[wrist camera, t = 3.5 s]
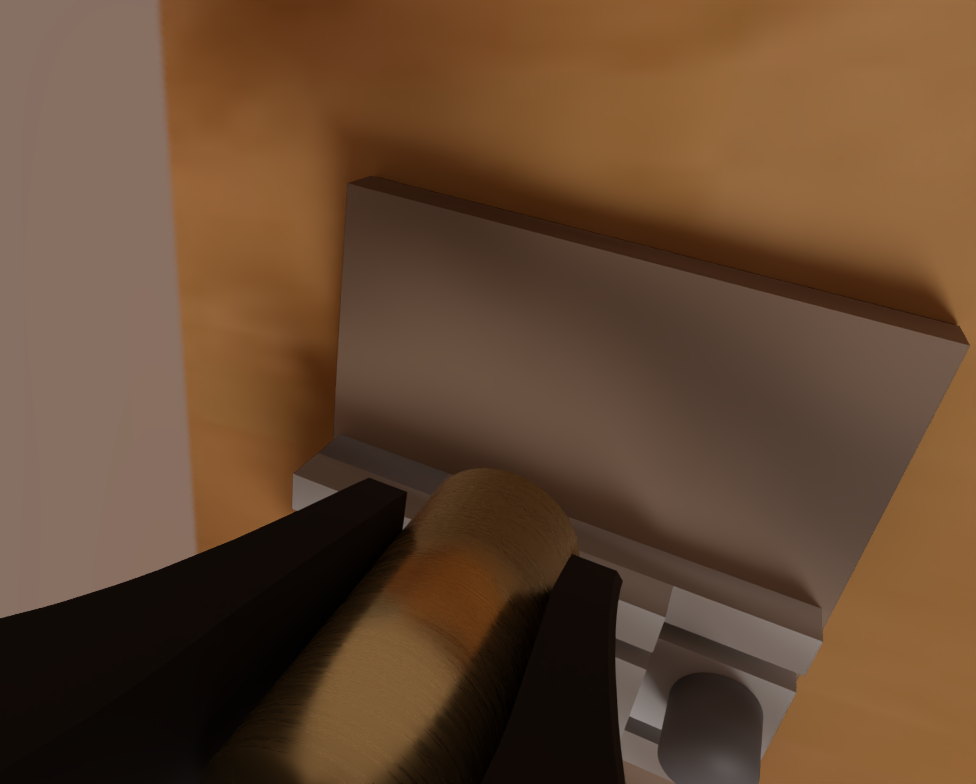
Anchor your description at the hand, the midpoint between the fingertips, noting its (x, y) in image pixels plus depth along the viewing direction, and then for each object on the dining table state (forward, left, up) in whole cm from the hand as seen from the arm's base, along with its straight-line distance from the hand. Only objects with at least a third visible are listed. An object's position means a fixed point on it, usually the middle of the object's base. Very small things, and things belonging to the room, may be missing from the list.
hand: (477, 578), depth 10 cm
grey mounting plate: (-5, +4, -7) cm, 9 cm away
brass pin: (0, 0, -1) cm, 1 cm away
